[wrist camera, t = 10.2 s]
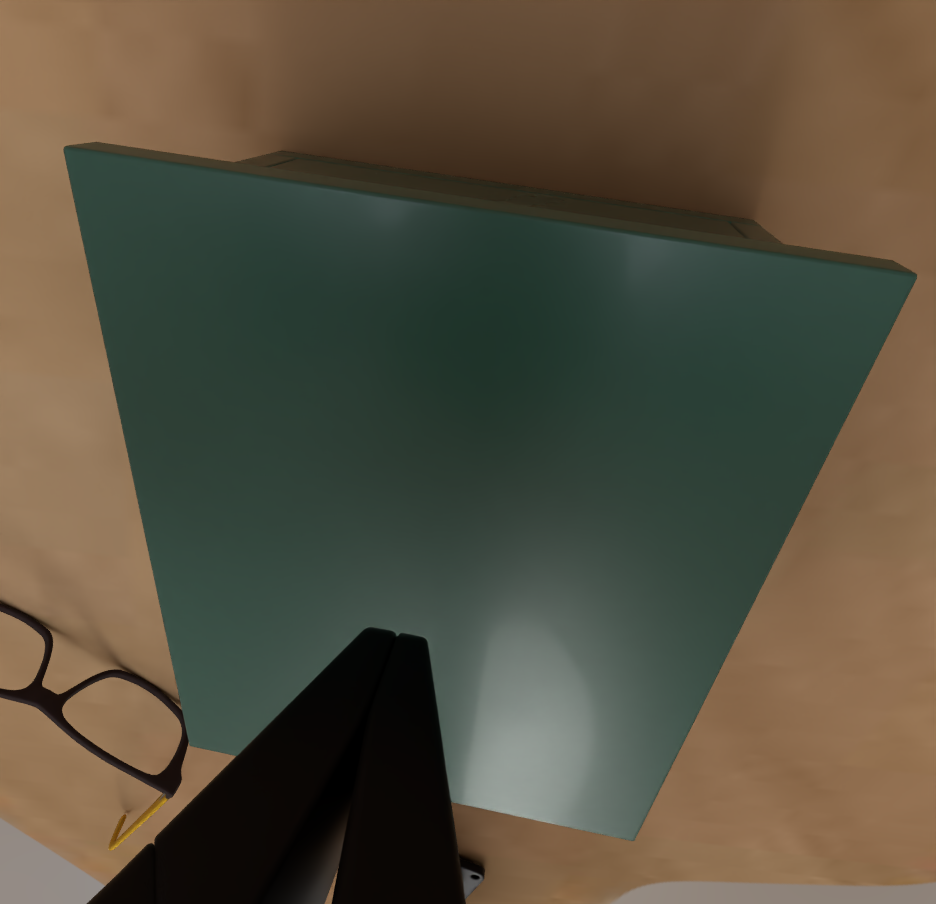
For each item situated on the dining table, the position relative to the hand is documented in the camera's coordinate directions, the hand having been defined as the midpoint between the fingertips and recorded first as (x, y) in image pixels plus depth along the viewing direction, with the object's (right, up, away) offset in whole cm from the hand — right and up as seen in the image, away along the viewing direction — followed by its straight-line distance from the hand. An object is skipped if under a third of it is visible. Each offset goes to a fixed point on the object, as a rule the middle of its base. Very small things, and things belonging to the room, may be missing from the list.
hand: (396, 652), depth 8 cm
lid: (0, 0, +5) cm, 5 cm away
